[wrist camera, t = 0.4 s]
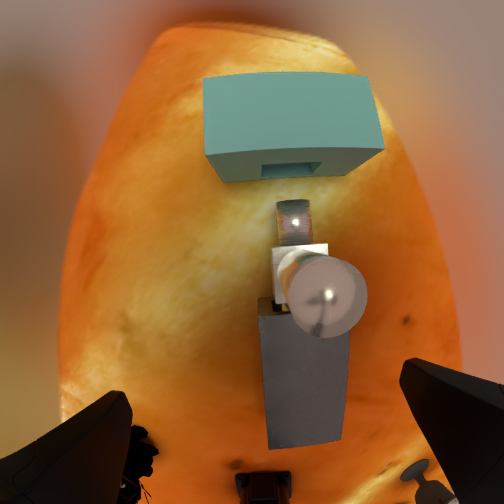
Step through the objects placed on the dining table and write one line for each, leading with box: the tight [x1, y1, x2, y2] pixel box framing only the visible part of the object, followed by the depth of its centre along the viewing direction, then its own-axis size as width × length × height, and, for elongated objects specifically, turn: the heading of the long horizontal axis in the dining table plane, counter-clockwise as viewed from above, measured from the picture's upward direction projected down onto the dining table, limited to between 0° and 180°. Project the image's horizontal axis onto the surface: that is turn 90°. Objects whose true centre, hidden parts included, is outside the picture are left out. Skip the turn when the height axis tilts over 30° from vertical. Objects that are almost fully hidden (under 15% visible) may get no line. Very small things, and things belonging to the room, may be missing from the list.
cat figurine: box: [117, 425, 159, 504], centre depth 17 cm, size 7×7×12 cm
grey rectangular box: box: [258, 297, 350, 450], centre depth 20 cm, size 12×6×5 cm, turn 5°
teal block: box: [203, 72, 385, 183], centre depth 17 cm, size 5×10×8 cm, turn 95°
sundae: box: [401, 460, 459, 504], centre depth 16 cm, size 7×7×15 cm
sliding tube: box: [269, 199, 368, 338], centre depth 16 cm, size 19×4×11 cm, turn 5°
